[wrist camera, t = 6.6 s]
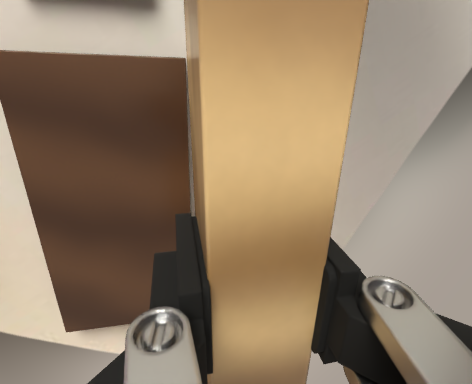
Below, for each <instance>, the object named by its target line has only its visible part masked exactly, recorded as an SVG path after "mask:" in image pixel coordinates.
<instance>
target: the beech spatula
mask: <svg viewBox="0 0 472 384" xmlns="http://www.w3.org/2000/svg"><path fill="white" fill-rule="evenodd" d="M368 4H369V0H184V13H185V32H186V51H187V69H188V88H189V107H190V126H191V144H192V163H193V182H194V201H195V216H196V217H197V222H198V228H199V234H200V240H201V245H202V251H203V257H204V263H205V269H206V274H207V279H208V280H209V286H210V295H211V322H212V354H213V373H212V374H207V379H208V384H306V381H307V375H308V369H309V363H310V357H311V351H312V350H311V344H312V338H313V332H314V325H315V319H316V313H317V307H318V301H319V295H320V289H321V283H322V277H323V270H324V266H325V265H326V260H327V253H328V247H329V241H330V235H331V229H332V223H333V217H334V211H335V205H336V199H337V193H338V187H339V181H340V174H341V168H342V162H343V156H344V150H345V144H346V138H347V132H348V126H349V120H350V114H351V108H352V101H353V95H354V89H355V83H356V77H357V71H358V65H359V59H360V53H361V47H362V41H363V35H364V29H365V22H366V16H367V10H368Z"/></svg>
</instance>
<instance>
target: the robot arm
mask: <svg viewBox="0 0 472 384" xmlns="http://www.w3.org/2000/svg"><path fill="white" fill-rule="evenodd" d="M175 221H176V250H177V251H169V252H160V253H155V254H154V261H153V273H152V285H151V296H150V308H149V310H147V311H146V312H144V313H142V314H141V315H139V316H138V317H137V318H136V319H135V320H134V321H133V322H132V323H131V325H130V327H129V328H128V330H127V334H126V340H125V351H124V352H122V353H121V354H120V355H119V356H118V357H117V358H116V359H115V360H113V361H112V362H111V363H110V364H109V365H108V366H107V367H106V368H104V369H103V370H102V371H101V372H100V373H99V374H98V375H97V376H95V377H94V378H93V379H92V380H91V381H90V382H89V383H88V384H208V379H207V374H212V373H213V354H212V322H211V295H210V286H209V280H208V279H207V274H206V269H205V263H204V257H203V251H202V245H201V240H200V234H199V228H198V222H197V217H196V216H194V217H191V213H182V214H175ZM311 350H312V351H313V352H314V353H318V354H319V356H320V358H321V360H322V361H323V364H327V363H332V362H337V361H338V363H340V364H341V365H343V368H344V372H345V375H346V377H347V379H348V381H349V384H472V327H471V326H468V325H466V324H463V323H460V322H457V321H455V320H452V319H449V318H447V317H444V316H441V315H438V314H435V313H434V311H433V310H432V309H431V308H430V307H429V306H428V305H427V304H426V303H425V302H424V301H423V300H422V299H421V298H420V297H419V296H418V294H416V292H415V291H413V290H412V289H411V288H410V287H409V286H407V285H406V284H404V283H402V282H401V281H398V280H395V279H393V278H390V277H385V276H372V277H368V278H366V276H365V275H364V274H363V273H362V272H361V269H360V268H359V267H358V266H357V265H356V264H355V263H354V262H353V261H352V260H351V259H350V258H349V257H348V256H347V254H346V253H345V252H344V251H343V250H342V249H341V248H340V247H339V246H338V245H337V244H336V243H335V241H334V240H333V239H332V238H331V237H330V241H329V247H328V253H327V260H326V265H325V266H324V270H323V277H322V283H321V289H320V295H319V301H318V307H317V313H316V319H315V325H314V332H313V338H312V344H311Z"/></svg>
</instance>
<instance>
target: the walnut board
mask: <svg viewBox="0 0 472 384" xmlns="http://www.w3.org/2000/svg"><path fill="white" fill-rule="evenodd" d="M0 100H1V104H2V107H3V111H4V114H5V118H6V122H7V125H8V129H9V132H10V136H11V139H12V143H13V146H14V150H15V153H16V157H17V160H18V164H19V168H20V171H21V175H22V178H23V182H24V185H25V189H26V192H27V196H28V199H29V203H30V206H31V210H32V213H33V217H34V221H35V224H36V228H37V231H38V235H39V238H40V242H41V245H42V249H43V252H44V256H45V259H46V263H47V267H48V270H49V274H50V277H51V281H52V284H53V288H54V291H55V295H56V298H57V302H58V305H59V309H60V312H61V316H62V320H63V323H64V327H65V330H66V332H73V331H80V330H88V329H95V328H102V327H110V326H117V325H125V324H131V323H132V322H133V321H134V320H135V319H136V318H137V317H138V316H139V315H141V314H142V313H144V312H146V311H147V310H149V308H150V296H151V285H152V273H153V261H154V254H155V253H160V252H169V251H177V250H176V221H175V214H182V213H191V210H190V180H189V149H188V119H187V88H186V59H185V58H175V57H151V56H127V55H103V54H79V53H55V52H30V51H6V50H0Z"/></svg>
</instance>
